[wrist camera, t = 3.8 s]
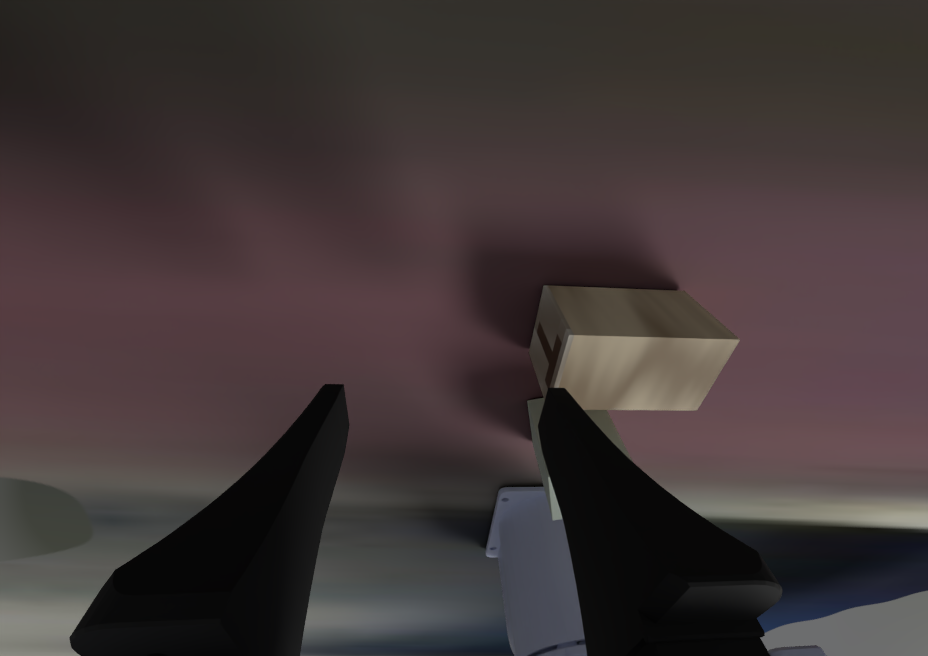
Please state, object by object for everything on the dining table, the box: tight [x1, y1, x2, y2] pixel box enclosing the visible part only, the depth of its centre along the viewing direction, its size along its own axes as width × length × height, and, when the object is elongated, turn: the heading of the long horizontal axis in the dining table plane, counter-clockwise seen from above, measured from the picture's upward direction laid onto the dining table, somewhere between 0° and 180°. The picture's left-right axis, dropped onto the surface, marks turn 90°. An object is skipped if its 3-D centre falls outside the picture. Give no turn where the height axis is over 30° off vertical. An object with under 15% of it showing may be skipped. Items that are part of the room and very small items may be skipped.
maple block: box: [529, 285, 740, 410], centre depth 17 cm, size 4×4×7 cm
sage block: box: [527, 398, 633, 520], centre depth 21 cm, size 4×4×5 cm
